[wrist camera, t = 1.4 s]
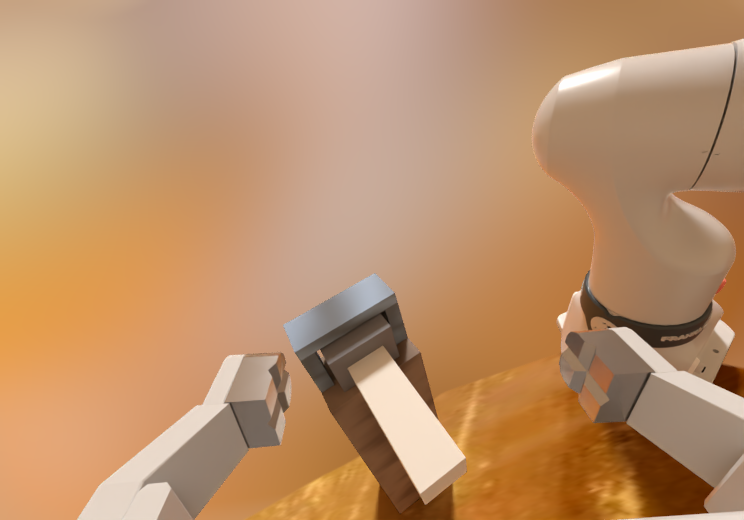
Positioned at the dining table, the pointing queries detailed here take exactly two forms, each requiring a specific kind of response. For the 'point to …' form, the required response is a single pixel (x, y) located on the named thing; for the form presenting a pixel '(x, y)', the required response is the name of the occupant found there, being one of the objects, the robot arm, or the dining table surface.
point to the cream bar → (396, 406)
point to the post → (350, 405)
